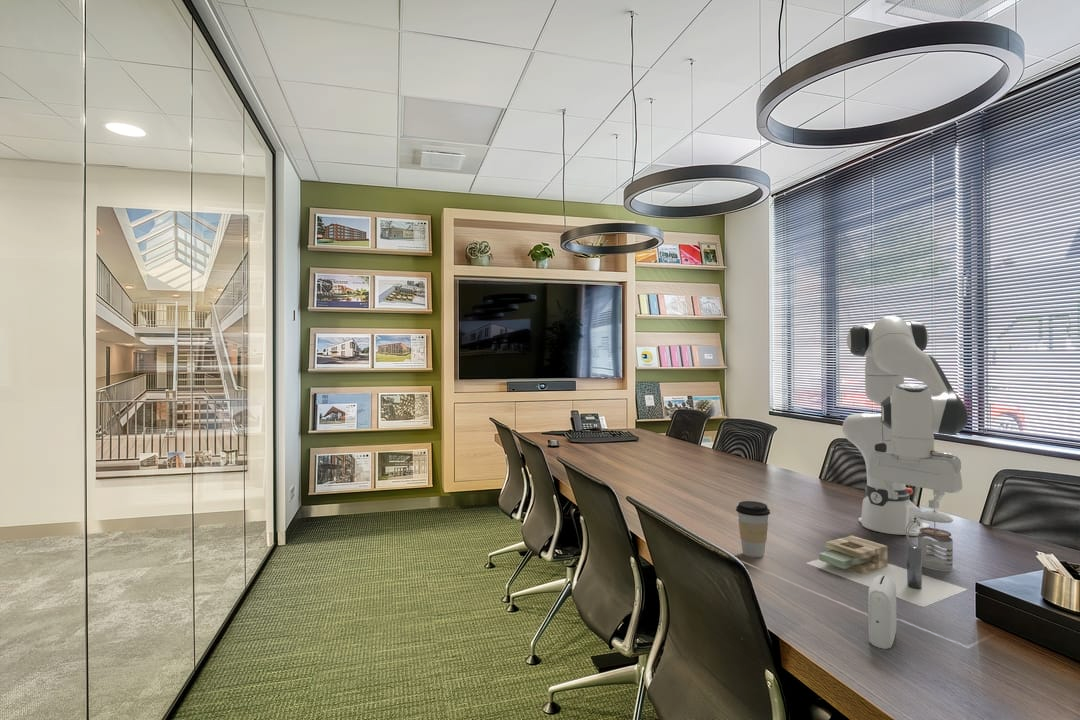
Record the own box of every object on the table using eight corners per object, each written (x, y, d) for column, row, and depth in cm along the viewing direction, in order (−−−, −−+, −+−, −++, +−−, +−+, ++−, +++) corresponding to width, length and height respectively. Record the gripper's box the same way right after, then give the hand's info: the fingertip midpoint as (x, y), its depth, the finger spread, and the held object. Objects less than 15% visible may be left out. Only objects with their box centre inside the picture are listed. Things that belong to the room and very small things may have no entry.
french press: (964, 575, 139) (963, 481, 139) (912, 569, 143) (911, 478, 143) (949, 562, 148) (948, 474, 148) (901, 557, 152) (900, 471, 152)
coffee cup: (755, 563, 148) (754, 510, 148) (729, 552, 157) (728, 502, 157) (777, 557, 153) (777, 506, 153) (751, 547, 161) (750, 498, 161)
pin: (911, 583, 133) (911, 544, 133) (924, 587, 131) (924, 547, 131) (904, 585, 132) (904, 546, 132) (917, 590, 129) (917, 549, 129)
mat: (849, 552, 156) (849, 550, 156) (968, 591, 129) (968, 589, 129) (805, 564, 147) (805, 562, 147) (923, 609, 120) (923, 607, 120)
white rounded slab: (892, 652, 103) (891, 589, 103) (866, 644, 106) (866, 583, 106) (898, 631, 111) (897, 573, 111) (874, 624, 114) (873, 568, 114)
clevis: (851, 554, 154) (851, 535, 154) (887, 565, 145) (887, 546, 145) (814, 564, 146) (814, 545, 146) (849, 577, 137) (849, 556, 137)
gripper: (967, 453, 124) (968, 511, 123) (878, 442, 142) (879, 493, 142) (953, 455, 121) (953, 515, 121) (864, 443, 139) (864, 495, 139)
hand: (912, 503), depth 131 cm, fingers open, 8 cm apart
